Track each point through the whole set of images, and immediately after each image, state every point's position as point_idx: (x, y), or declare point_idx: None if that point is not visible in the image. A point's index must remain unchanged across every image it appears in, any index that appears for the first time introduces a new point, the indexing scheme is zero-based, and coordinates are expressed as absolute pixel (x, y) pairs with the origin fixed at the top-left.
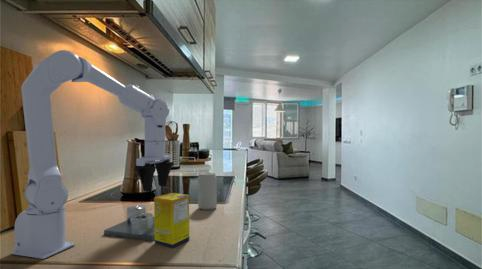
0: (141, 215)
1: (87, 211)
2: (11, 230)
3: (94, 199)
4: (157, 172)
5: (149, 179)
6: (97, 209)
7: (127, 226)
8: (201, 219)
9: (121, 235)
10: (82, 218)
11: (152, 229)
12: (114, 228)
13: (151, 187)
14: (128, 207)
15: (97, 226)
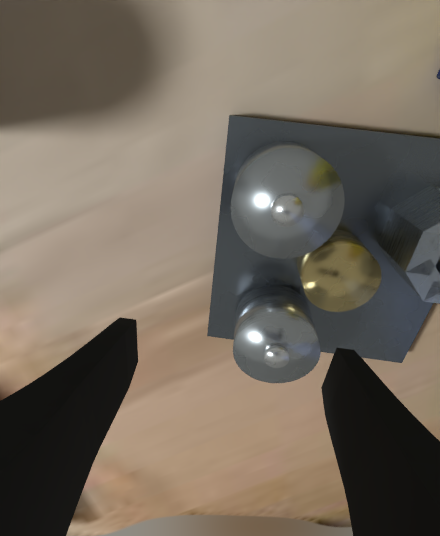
0: (433, 273)
1: (168, 475)
2: (344, 525)
3: None
4: (83, 485)
5: (432, 442)
6: (142, 465)
7: (359, 311)
8: (137, 11)
9: None
10: (234, 460)
11: (435, 186)
12: (384, 341)
13: (357, 364)
14: (276, 381)
15: (305, 401)
